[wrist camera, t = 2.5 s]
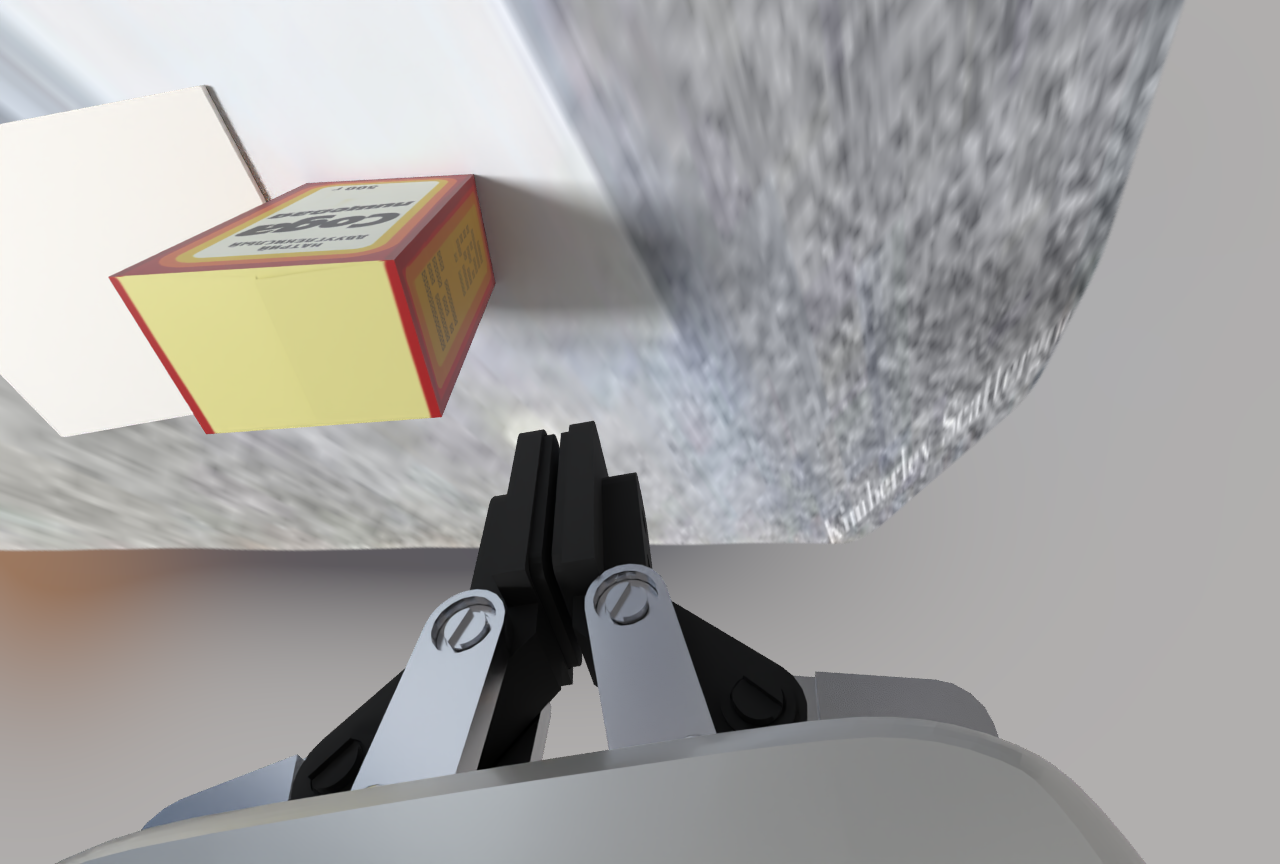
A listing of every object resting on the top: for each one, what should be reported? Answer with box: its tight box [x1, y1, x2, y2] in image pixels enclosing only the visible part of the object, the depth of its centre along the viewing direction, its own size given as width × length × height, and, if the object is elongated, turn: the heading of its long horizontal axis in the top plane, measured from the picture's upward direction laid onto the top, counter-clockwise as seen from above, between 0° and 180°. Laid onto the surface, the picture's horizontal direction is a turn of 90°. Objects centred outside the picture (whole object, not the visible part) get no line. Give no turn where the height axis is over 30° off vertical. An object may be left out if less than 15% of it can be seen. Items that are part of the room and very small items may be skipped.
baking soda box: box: [108, 174, 495, 434], centre depth 26 cm, size 10×6×16 cm
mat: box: [0, 85, 266, 437], centre depth 33 cm, size 22×18×1 cm
